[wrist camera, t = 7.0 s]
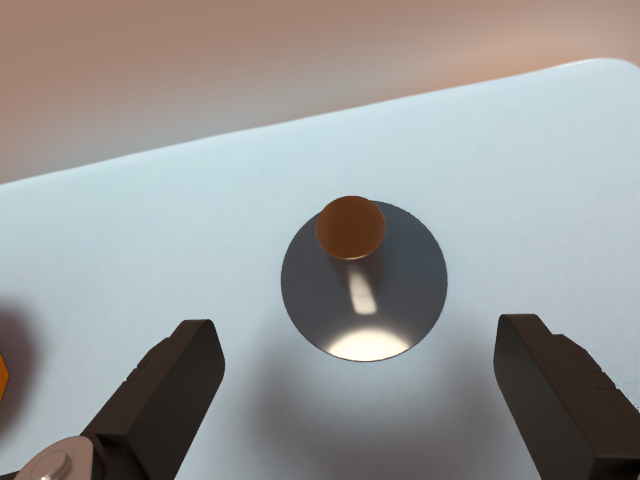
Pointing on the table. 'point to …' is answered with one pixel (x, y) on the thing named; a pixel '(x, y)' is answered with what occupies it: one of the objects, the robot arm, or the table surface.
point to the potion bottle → (3, 376)
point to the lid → (364, 280)
